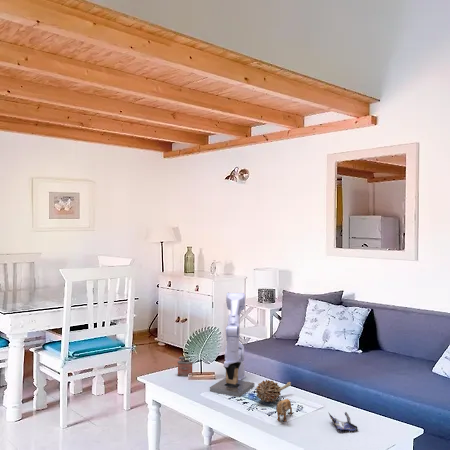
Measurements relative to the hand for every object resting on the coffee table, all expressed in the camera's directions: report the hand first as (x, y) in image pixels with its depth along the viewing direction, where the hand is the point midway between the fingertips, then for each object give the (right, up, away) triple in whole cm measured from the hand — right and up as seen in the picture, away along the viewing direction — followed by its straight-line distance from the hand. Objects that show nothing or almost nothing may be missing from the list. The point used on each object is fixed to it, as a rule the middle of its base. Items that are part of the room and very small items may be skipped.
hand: (232, 378), depth 236 cm
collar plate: (0, -5, 0) cm, 5 cm away
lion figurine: (+21, -6, -34) cm, 41 cm away
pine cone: (+19, -6, -13) cm, 24 cm away
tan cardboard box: (0, -2, 0) cm, 2 cm away
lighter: (-24, -5, +20) cm, 32 cm away
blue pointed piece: (+43, -6, -42) cm, 61 cm away
